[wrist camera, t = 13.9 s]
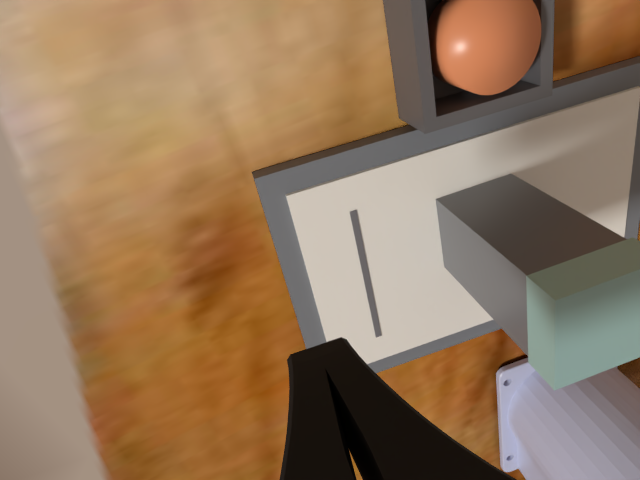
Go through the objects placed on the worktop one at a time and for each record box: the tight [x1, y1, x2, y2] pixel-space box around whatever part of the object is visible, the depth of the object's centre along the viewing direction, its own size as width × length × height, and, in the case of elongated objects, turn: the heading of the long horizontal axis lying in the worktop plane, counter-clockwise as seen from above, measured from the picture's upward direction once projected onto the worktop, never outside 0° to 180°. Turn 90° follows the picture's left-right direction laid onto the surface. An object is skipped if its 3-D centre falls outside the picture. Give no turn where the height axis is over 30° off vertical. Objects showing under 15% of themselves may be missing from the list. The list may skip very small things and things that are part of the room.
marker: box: [436, 174, 640, 391], centre depth 19 cm, size 4×4×8 cm
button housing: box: [383, 0, 554, 134], centre depth 18 cm, size 5×5×2 cm
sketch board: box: [252, 56, 640, 373], centre depth 23 cm, size 12×18×1 cm, turn 102°
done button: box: [427, 0, 541, 95], centre depth 17 cm, size 3×3×2 cm
